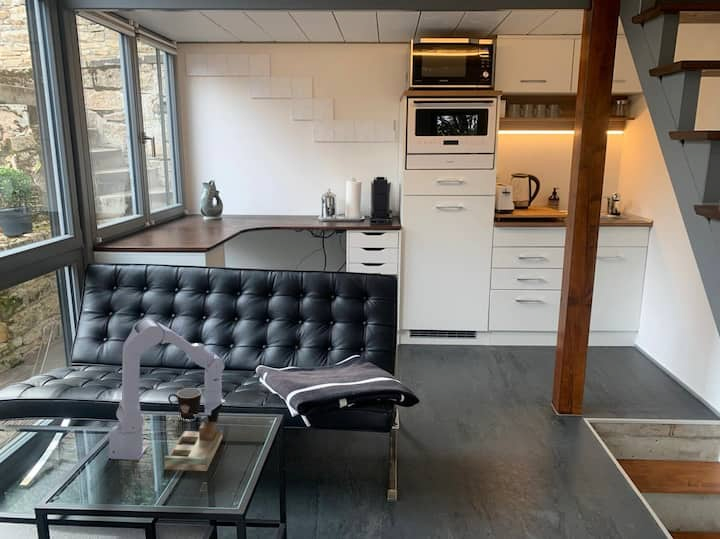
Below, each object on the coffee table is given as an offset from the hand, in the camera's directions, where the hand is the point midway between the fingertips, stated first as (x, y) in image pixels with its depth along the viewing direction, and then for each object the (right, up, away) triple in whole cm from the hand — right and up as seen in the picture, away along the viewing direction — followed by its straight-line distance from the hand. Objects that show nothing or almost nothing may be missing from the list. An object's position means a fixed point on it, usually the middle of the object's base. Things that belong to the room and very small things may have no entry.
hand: (213, 424), depth 190 cm
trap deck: (-3, -6, -13) cm, 14 cm away
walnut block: (0, -2, -7) cm, 7 cm away
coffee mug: (-13, 0, +11) cm, 17 cm away
